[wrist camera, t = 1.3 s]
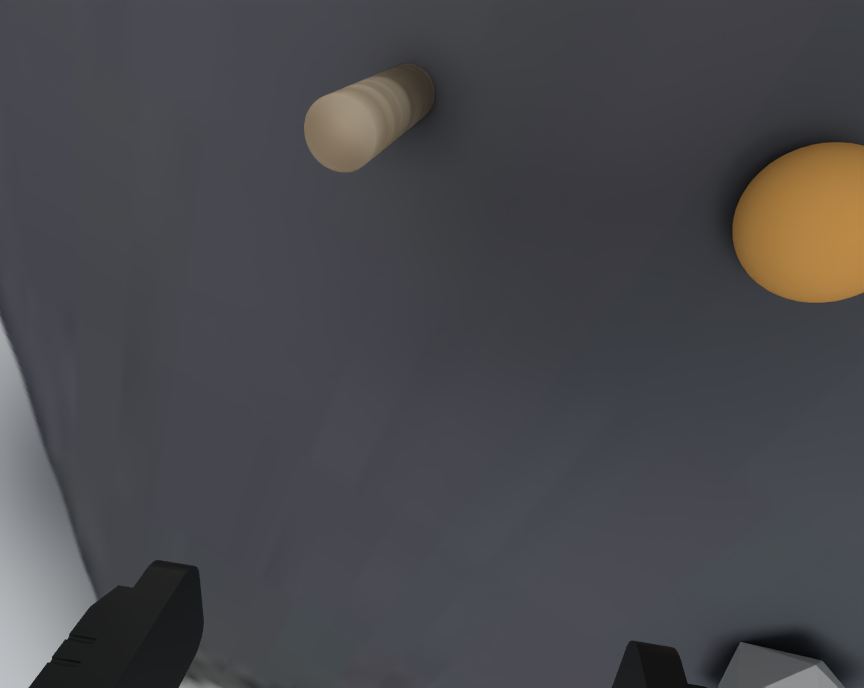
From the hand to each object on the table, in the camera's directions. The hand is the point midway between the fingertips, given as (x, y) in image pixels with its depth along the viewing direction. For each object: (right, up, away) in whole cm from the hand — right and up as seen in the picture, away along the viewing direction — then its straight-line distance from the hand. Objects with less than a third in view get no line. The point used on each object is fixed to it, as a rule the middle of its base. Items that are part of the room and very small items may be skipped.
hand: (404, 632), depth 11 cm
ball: (+15, +10, +12) cm, 22 cm away
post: (-1, +16, +15) cm, 23 cm away
